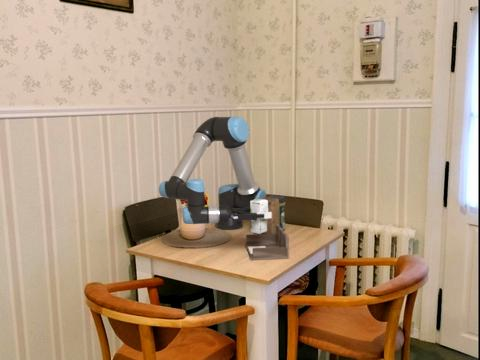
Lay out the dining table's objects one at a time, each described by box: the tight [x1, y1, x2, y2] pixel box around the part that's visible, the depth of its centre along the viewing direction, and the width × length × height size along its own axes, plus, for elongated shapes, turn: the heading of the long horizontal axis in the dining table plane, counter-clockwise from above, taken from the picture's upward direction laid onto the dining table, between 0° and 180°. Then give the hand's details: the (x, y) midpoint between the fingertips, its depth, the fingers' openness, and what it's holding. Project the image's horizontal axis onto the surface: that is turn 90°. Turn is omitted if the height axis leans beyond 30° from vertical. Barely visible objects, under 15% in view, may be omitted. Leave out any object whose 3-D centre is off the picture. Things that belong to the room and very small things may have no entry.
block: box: [256, 196, 280, 235], centre depth 223 cm, size 11×8×20 cm
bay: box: [244, 224, 290, 261], centre depth 200 cm, size 22×16×10 cm
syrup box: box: [249, 199, 268, 234], centre depth 198 cm, size 6×6×14 cm
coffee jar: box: [267, 194, 287, 231], centre depth 237 cm, size 10×8×19 cm
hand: (269, 212), depth 198 cm, fingers closed on syrup box, 8 cm apart
